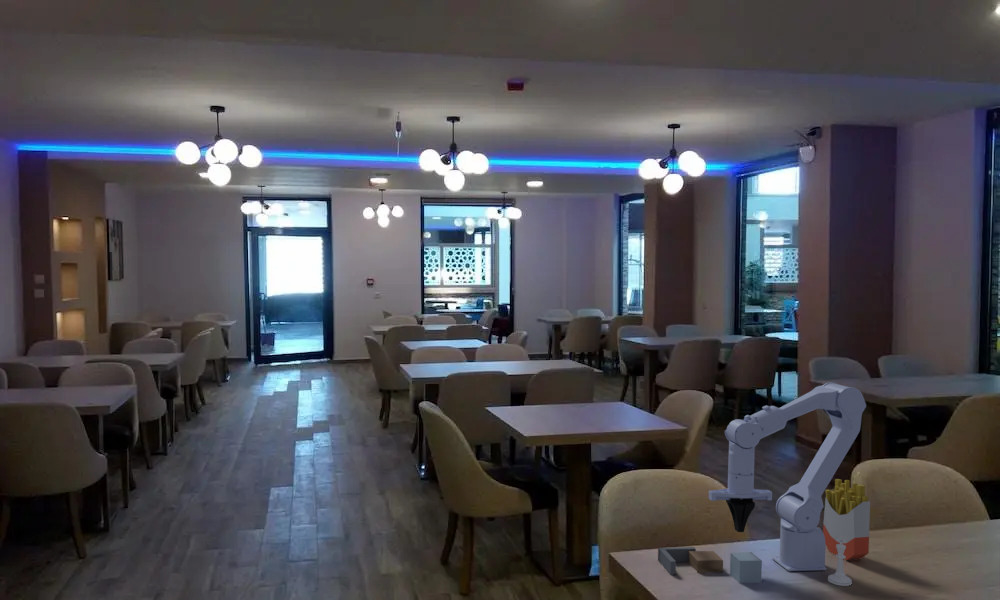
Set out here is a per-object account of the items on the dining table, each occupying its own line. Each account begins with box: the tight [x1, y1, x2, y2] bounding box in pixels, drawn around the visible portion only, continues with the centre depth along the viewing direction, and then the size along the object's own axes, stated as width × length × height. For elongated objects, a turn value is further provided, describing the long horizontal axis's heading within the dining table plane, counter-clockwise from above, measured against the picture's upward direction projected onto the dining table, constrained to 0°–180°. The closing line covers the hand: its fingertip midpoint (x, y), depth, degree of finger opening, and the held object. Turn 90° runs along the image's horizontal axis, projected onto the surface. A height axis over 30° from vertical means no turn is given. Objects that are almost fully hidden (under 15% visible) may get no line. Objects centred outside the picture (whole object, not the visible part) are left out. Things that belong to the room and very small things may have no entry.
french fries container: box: [822, 478, 871, 561], centre depth 183 cm, size 5×11×18 cm, turn 15°
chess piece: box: [827, 537, 853, 587], centre depth 167 cm, size 5×5×10 cm
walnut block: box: [688, 550, 724, 573], centre depth 174 cm, size 6×6×3 cm
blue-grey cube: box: [729, 551, 763, 584], centre depth 168 cm, size 5×5×5 cm
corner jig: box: [657, 546, 697, 576], centre depth 174 cm, size 9×9×3 cm
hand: (739, 530), depth 175 cm, fingers closed
